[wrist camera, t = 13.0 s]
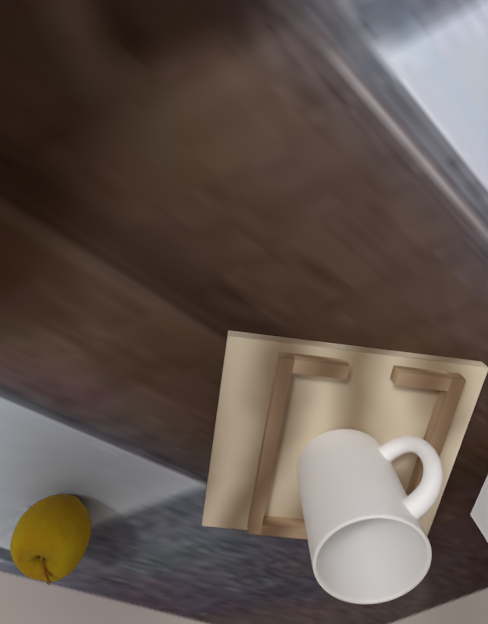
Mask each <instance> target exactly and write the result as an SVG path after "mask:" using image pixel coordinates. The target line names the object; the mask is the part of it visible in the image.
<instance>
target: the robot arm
mask: <svg viewBox="0 0 488 624" xmlns="http://www.w3.org/2000/svg"><path fill="white" fill-rule="evenodd" d="M470 515H471V517H472V518H473V520H474V521H475V523H476V524H477V526H478V528H479V529H480V531H481V532H482V534H483V535H484V537H485V539H486V540H487V542H488V476H487V478H486V480H485V482H484V485H483V487H482V489H481V492H480V494H479V496H478V498H477V501H476V503H475V505H474V507H473V510H472V512H471V514H470Z"/></svg>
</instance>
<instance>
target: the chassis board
mask: <svg viewBox="0 0 488 624" xmlns="http://www.w3.org/2000/svg"><path fill="white" fill-rule="evenodd" d="M487 372H488V367H487V366H486V365H485V364H484V363H483V362H481V361H473V360H465V359H457V358H449V357H441V356H433V355H424V354H416V353H408V352H400V351H392V350H384V349H376V348H368V347H359V346H351V345H343V344H335V343H327V342H319V341H311V340H302V339H294V338H286V337H278V336H270V335H262V334H254V333H246V332H237V331H229V330H228V335H227V342H226V350H225V357H224V364H223V372H222V379H221V386H220V394H219V401H218V408H217V416H216V423H215V430H214V438H213V445H212V452H211V460H210V467H209V474H208V482H207V489H206V496H205V504H204V511H203V519H202V526H210V527H220V528H231V529H241V530H247V531H248V534H255V535H265V536H276V537H286V538H297V539H307V533H306V527H305V522H304V516H303V510H302V505H301V499H300V493H299V488H298V481H297V463H298V459H299V456H300V455H301V453H302V451H303V449H304V448H305V447H306V446H307V444H308V443H309V442H311V441H312V440H313V439H314V438H316V437H317V436H319V435H321V434H323V433H326V432H328V431H332V430H337V429H353V430H358V431H361V432H364V433H366V434H368V435H370V436H371V437H373V438H374V439H375V440H377V441H378V442H379V444H380V445H383V444H385V443H386V442H388V441H390V440H392V439H394V438H397V437H401V436H416V437H419V438H421V439H423V440H425V441H427V442H428V443H429V444H431V445H432V446H433V448H434V449H435V450H436V452H437V454H438V455H439V457H440V460H441V463H442V467H443V483H442V488H441V491H440V494H439V496H438V498H437V500H436V501H435V503H434V504H433V506H432V507H431V508H430V509H429V510H428V511H427V512H426V513H425V514H424V515H423V516H422V517H421V518H419V522H420V524H421V526H422V528H423V530H424V532H425V534H426V536H427V535H428V533H429V530H430V527H431V525H432V522H433V519H434V516H435V514H436V511H437V508H438V505H439V503H440V500H441V497H442V495H443V492H444V489H445V486H446V484H447V481H448V478H449V475H450V473H451V470H452V467H453V464H454V462H455V459H456V456H457V454H458V451H459V448H460V445H461V443H462V440H463V437H464V434H465V432H466V429H467V426H468V423H469V421H470V418H471V415H472V413H473V410H474V407H475V404H476V402H477V399H478V396H479V393H480V391H481V388H482V385H483V382H484V380H485V377H486V374H487ZM391 464H392V466H393V468H394V470H395V472H396V474H397V476H398V478H399V480H400V482H401V484H402V486H403V488H404V490H405V492H406V494H407V496H408V495H409V494H411V493H412V492H413V491H414V490H415V489H416V488H417V487H418V485H419V483H420V482H421V479H422V476H423V464H422V461H421V459H420V457H419V456H418V455H417V454H415V453H412V452H409V453H405V454H402V455H400V456H399V457H397V458H396V459H394V460H393V461H392V462H391ZM307 540H308V539H307Z"/></svg>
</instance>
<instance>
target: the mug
mask: <svg viewBox="0 0 488 624" xmlns="http://www.w3.org/2000/svg"><path fill="white" fill-rule="evenodd" d="M409 452H412V453H415V454H417V455H418V456H419V457H420V459H421V461H422V464H423V476H422V479H421V482H420V483H419V485H418V487H417V488H416V489H415V490H414V491H413V492H412V493H411V494H409V495H408V496H407V494H406V492H405V490H404V488H403V486H402V484H401V482H400V480H399V478H398V476H397V474H396V472H395V470H394V468H393V466H392V464H391V462H392V461H393V460H394V459H396V458H397V457H399V456H400V455H402V454H405V453H409ZM297 481H298V488H299V493H300V499H301V505H302V510H303V516H304V522H305V527H306V533H307V539H308V544H309V550H310V556H311V561H312V567H313V572H314V575H315V577H316V579H317V581H318V583H319V584H320V585H321V587H322V588H323V589H324V590H325V591H326V592H328V593H329V594H330V595H332V596H334V597H336V598H338V599H340V600H343V601H346V602H350V603H355V604H376V603H382V602H387V601H390V600H393V599H395V598H398V597H400V596H402V595H404V594H406V593H407V592H409V591H410V590H412V589H413V588H414V587H416V586H417V585H418V584H419V583H420V582H421V581H422V579H423V578H424V577H425V575H426V573H427V572H428V570H429V567H430V564H431V559H432V550H431V545H430V543H429V540H428V538H427V536H426V534H425V532H424V530H423V528H422V526H421V524H420V522H419V518H421V517H422V516H423V515H424V514H425V513H426V512H427V511H428V510H429V509H430V508H431V507H432V506H433V504H434V503H435V501H436V500H437V498H438V496H439V494H440V491H441V488H442V483H443V467H442V463H441V460H440V457H439V455H438V454H437V452H436V450H435V449H434V448H433V446H432V445H431V444H429V443H428V442H427V441H425V440H423V439H421V438H419V437H416V436H401V437H397V438H394V439H392V440H390V441H388V442H386V443H385V444H383V445H380V444H379V442H378V441H377V440H375V439H374V438H373V437H371V436H370V435H368V434H366V433H364V432H361V431H358V430H353V429H337V430H332V431H328V432H326V433H323V434H321V435H319V436H317V437H316V438H314V439H313V440H312V441H311V442H309V443H308V444H307V446H306V447H305V448H304V449H303V451H302V453H301V455H300V456H299V459H298V463H297Z"/></svg>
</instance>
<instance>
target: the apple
mask: <svg viewBox="0 0 488 624" xmlns="http://www.w3.org/2000/svg"><path fill="white" fill-rule="evenodd" d="M91 530H92V526H91V520H90V517H89V512H88V510H87V508H86V507H85V506H84V505H83V503H82V502H81V501H80V500H79V498H78V497H76V496H74V495H65V494H58V495H53V496H50V497H47V498H45V499H43V500H40V501H38V502H37V503H36V504H34V505H33V506H32V507H31V508H30V509H28V510H27V511H26V512H25V514H24V515H23V516H22V517H21V518H20V520H19V522H18V524H17V526H16V528H15V531H14V533H13V536H12V540H11V546H10V550H11V556H12V559H13V561H14V563H15V564H16V566H17V567H18V569H19V570H20V571H21V572H22V573H23V574H25V575H26V576H28V577H30V578H32V579H36V580H40V581H47V584H49V585H50V583H51V582H52V581H58V580H60V579H62V578H64V577H65V576H67V575H68V574H69V573H70V572H71V571H73V570H74V569H75V567H76V566H77V565H78V563H79V562H80V561H81V559H82V557H83V555H84V553H85V551H86V549H87V546H88V543H89V540H90V536H91Z"/></svg>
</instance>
